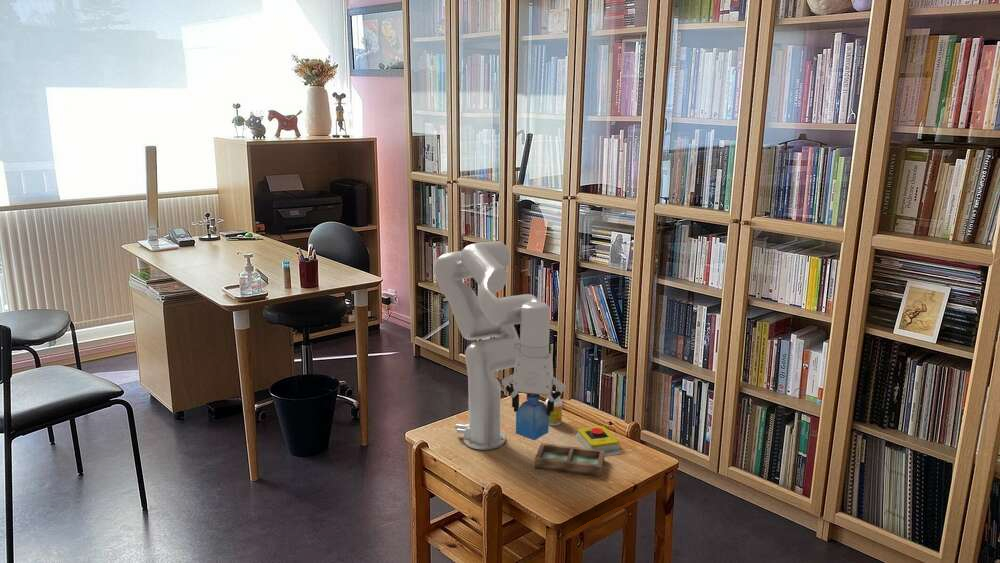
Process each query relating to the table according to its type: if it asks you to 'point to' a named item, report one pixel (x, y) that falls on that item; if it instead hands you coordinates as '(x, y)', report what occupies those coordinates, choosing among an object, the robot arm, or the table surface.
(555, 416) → the supplement bottle
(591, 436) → the emergency button
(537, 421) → the perfume bottle
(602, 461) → the organizer
